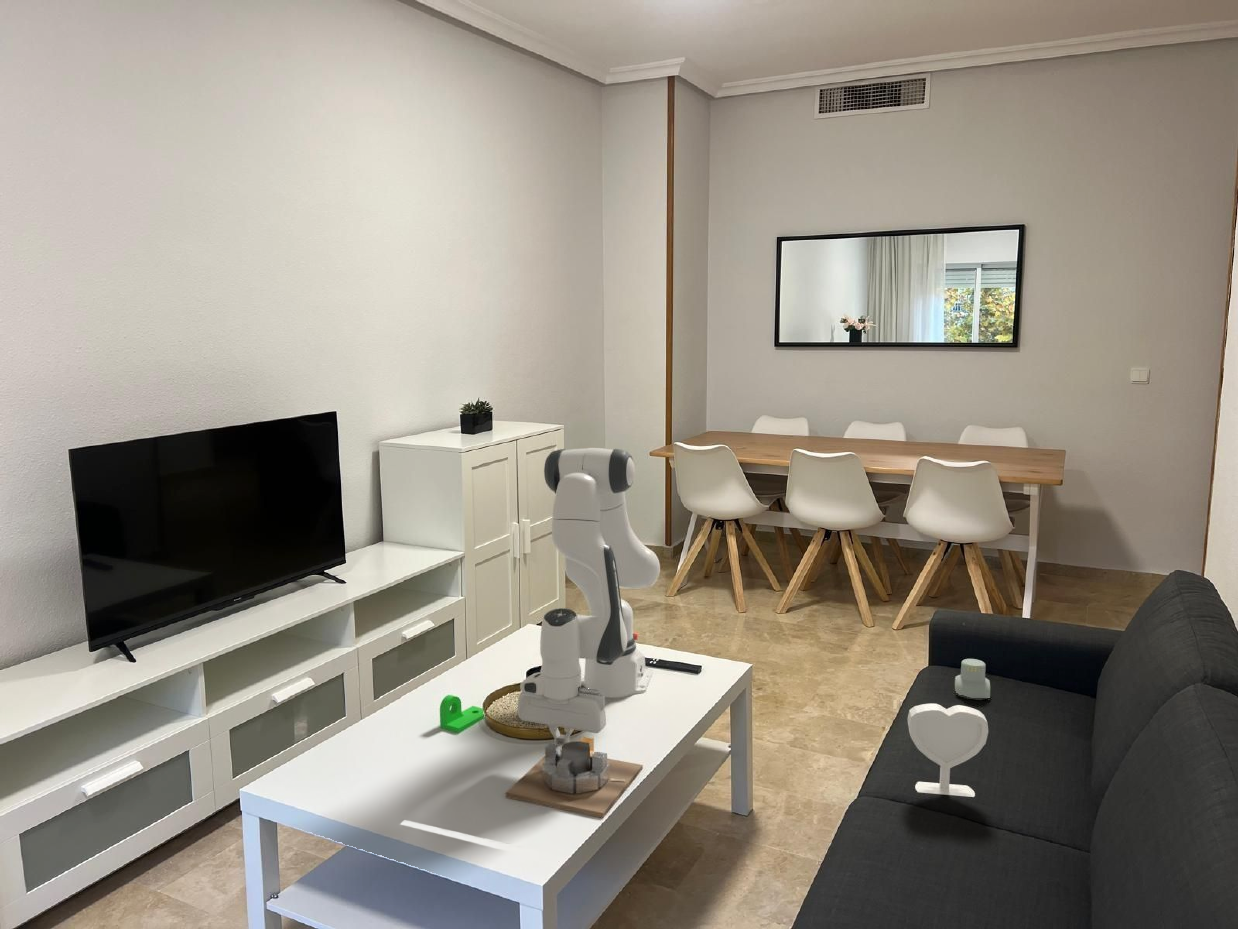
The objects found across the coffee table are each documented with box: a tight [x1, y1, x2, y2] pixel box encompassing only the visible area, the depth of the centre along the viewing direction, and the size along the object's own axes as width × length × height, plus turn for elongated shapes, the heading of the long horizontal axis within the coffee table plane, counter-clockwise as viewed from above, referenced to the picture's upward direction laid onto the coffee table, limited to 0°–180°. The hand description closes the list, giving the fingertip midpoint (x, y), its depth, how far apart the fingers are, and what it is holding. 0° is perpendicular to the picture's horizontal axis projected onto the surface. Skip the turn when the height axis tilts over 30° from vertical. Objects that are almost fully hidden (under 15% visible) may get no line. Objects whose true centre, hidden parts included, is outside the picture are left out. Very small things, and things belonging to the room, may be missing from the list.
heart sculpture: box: [907, 703, 989, 798], centre depth 193 cm, size 16×5×18 cm, turn 79°
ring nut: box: [542, 736, 610, 794], centre depth 197 cm, size 14×14×6 cm
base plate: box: [505, 740, 644, 819], centre depth 197 cm, size 22×22×8 cm
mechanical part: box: [439, 694, 485, 734], centre depth 227 cm, size 12×6×8 cm, turn 148°
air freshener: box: [954, 658, 991, 698], centre depth 240 cm, size 11×8×10 cm
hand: (562, 744), depth 204 cm, fingers closed
